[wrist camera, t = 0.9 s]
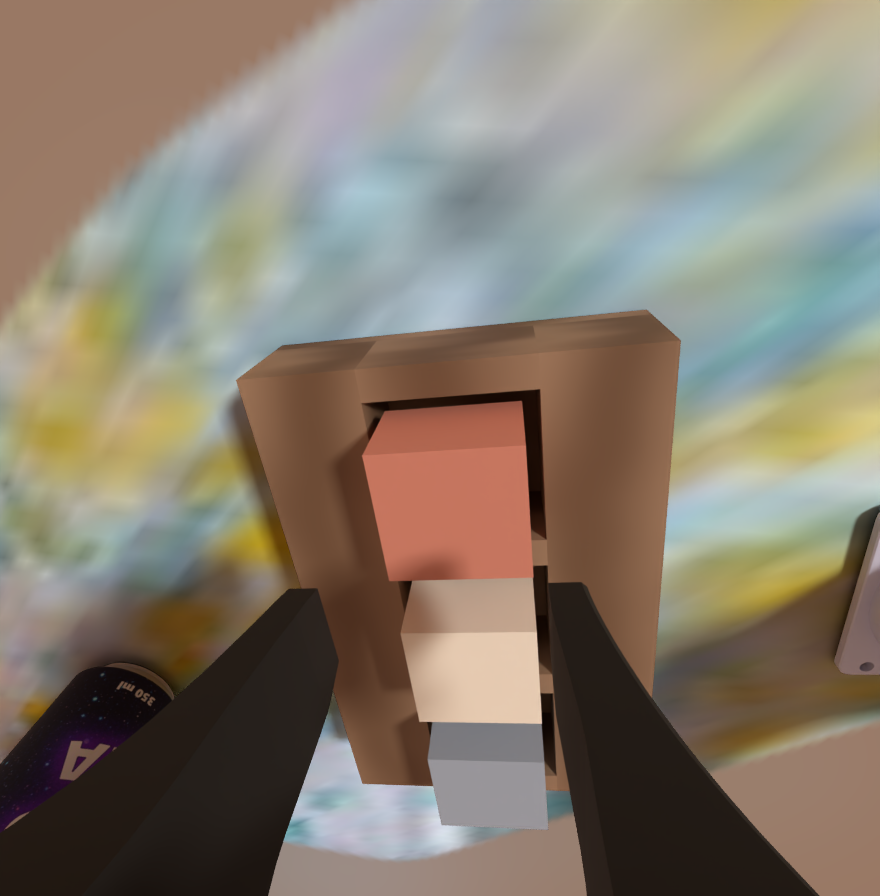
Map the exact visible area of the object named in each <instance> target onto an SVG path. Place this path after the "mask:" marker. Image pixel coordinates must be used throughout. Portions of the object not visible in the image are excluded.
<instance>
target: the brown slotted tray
mask: <svg viewBox="0 0 880 896" xmlns="http://www.w3.org/2000/svg"><path fill="white" fill-rule="evenodd" d="M680 344H681V340H680V339H679V338H678V337H676V336H675V335H674V334H673V333H672V332H671V331H670V330H669V329H668V328H666V327H665V326H664V325H663V324H662V323H661V322H660V321H659V320H658V319H656V318H655V317H654V316H653V315H652V314H651V313H650V312H649V311H648V310H639V311H629V312H619V313H608V314H598V315H588V316H578V317H568V318H558V319H548V320H537V321H527V322H517V323H507V324H497V325H487V326H476V327H466V328H456V329H446V330H436V331H426V332H415V333H405V334H395V335H385V336H375V337H365V338H355V339H344V340H334V341H324V342H314V343H304V344H294V345H283V346H281V347H280V348H278V349H277V350H276V351H274V352H273V353H272V354H270V355H269V356H268V357H266V358H265V359H264V360H262V361H261V362H260V363H258V364H257V365H256V366H254V367H253V368H252V369H250V370H249V371H248V372H246V373H245V374H244V375H242V376H241V377H240V378H238V379H237V380H236V381H237V384H238V388H239V391H240V394H241V397H242V400H243V404H244V407H245V410H246V413H247V416H248V420H249V423H250V426H251V429H252V432H253V436H254V439H255V442H256V445H257V448H258V451H259V455H260V458H261V461H262V464H263V467H264V471H265V474H266V477H267V480H268V483H269V487H270V490H271V493H272V496H273V499H274V503H275V506H276V509H277V512H278V515H279V519H280V522H281V525H282V528H283V531H284V534H285V538H286V541H287V544H288V547H289V550H290V554H291V557H292V560H293V563H294V566H295V570H296V573H297V576H298V579H299V582H300V586H301V589H307V588H318V592H319V595H320V598H321V602H322V605H323V609H324V612H325V615H326V619H327V622H328V625H329V629H330V632H331V636H332V639H333V642H334V646H335V649H336V652H337V656H338V659H339V664H338V668H337V673H336V678H335V683H334V688H333V691H334V694H335V697H336V700H337V704H338V707H339V710H340V713H341V716H342V720H343V723H344V726H345V729H346V732H347V736H348V739H349V742H350V745H351V748H352V752H353V755H354V758H355V761H356V764H357V768H358V771H359V774H360V777H361V780H362V783H363V784H386V785H415V786H433V782H432V778H431V773H430V768H429V764H428V753H429V745H430V737H431V729H432V722H419V717H418V713H417V708H416V703H415V699H414V694H413V689H412V685H411V680H410V675H409V671H408V666H407V661H406V657H405V652H404V648H403V643H402V638H401V634H400V633H401V629H402V624H403V620H404V616H405V611H406V607H407V602H408V598H409V593H410V589H411V585H412V581H389V578H388V573H387V569H386V564H385V559H384V555H383V550H382V545H381V541H380V536H379V531H378V527H377V522H376V517H375V513H374V508H373V504H372V499H371V494H370V490H369V485H368V480H367V476H366V471H365V466H364V462H363V457H362V455H363V453H364V451H365V449H366V447H367V445H368V443H369V441H370V439H371V437H372V435H373V433H374V431H375V430H376V428H377V426H378V424H379V422H380V420H381V418H382V416H383V414H384V412H385V411H395V410H408V409H421V408H434V407H448V406H461V405H474V404H487V403H500V402H514V401H522V407H523V418H524V430H525V441H526V456H527V474H528V491H529V508H530V525H531V542H532V560H533V577H534V578H533V589H534V603H535V616H536V629H537V646H538V663H539V680H540V697H541V714H542V737H543V751H544V766H545V783H546V790H556V791H570V789H569V784H568V779H567V773H566V768H565V762H564V757H563V751H562V746H561V740H560V735H559V729H558V724H557V718H556V710H555V699H554V688H553V676H552V665H551V646H550V623H549V600H548V583H561V582H582V583H583V584H584V585H586V586H587V587H588V590H589V593H590V595H591V597H592V599H593V601H594V604H595V606H596V608H597V610H598V612H599V614H600V615H601V617H602V619H603V621H604V623H605V625H606V626H607V628H608V630H609V632H610V633H611V635H612V637H613V639H614V640H615V642H616V644H617V645H618V647H619V649H620V650H621V652H622V654H623V655H624V657H625V658H626V660H627V661H628V663H629V664H630V666H631V668H632V669H633V671H634V672H635V674H636V675H637V677H638V678H639V680H640V681H641V683H642V684H643V686H644V687H645V689H646V690H647V692H648V693H649V695H650V696H651V698H652V691H653V679H654V666H655V654H656V641H657V629H658V617H659V604H660V592H661V579H662V567H663V555H664V542H665V530H666V517H667V505H668V493H669V480H670V468H671V455H672V443H673V431H674V418H675V406H676V393H677V381H678V369H679V356H680Z"/></svg>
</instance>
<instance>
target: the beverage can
mask: <svg viewBox="0 0 880 896" xmlns="http://www.w3.org/2000/svg"><path fill="white" fill-rule="evenodd" d="M173 699H174V694H173V692H172V690H171V688H170V687H169V685H168V684H167V683H166V682H165V681H164V680H163V679H162V678H161V677H159V676H158V675H157V674H155V673H154V672H152V671H150V670H148V669H146V668H144V667H141V666H138V665H134V664H130V663H113V664H110V665H107V666H102V667H95V668H90V669H87V670H84V671H82V672H81V673H79V674H78V675H77V676H76V677H75V678H74V679H73V680H72V681H71V683H70V684H69V685H68V686H67V687H66V688H65V690H64V691H63V692H62V693H61V694H60V695H59V696H58V698H57V699H56V700H55V701H54V702H53V703H52V705H51V706H50V707H49V708H48V709H47V710H46V712H45V713H44V714H43V715H42V716H41V717H40V719H39V720H38V721H37V722H36V723H35V724H34V726H33V727H32V728H31V729H30V730H29V731H28V732H27V734H26V735H25V736H24V737H23V738H22V739H21V741H20V742H19V743H18V744H17V745H16V746H15V748H14V749H13V750H12V751H11V752H10V753H9V755H8V756H7V757H6V758H5V759H4V760H3V762H2V763H1V764H0V832H2V831H3V830H5V829H6V828H8V827H9V826H11V825H12V824H14V823H15V822H17V821H18V820H19V819H21V818H22V817H24V816H25V815H26V814H28V813H29V812H31V811H32V810H33V809H35V808H36V807H38V806H39V805H40V804H42V803H43V802H45V801H46V800H47V799H49V798H50V797H52V796H53V795H54V794H56V793H57V792H59V791H60V790H61V789H63V788H64V787H66V786H67V785H68V784H70V783H71V782H73V781H74V780H75V779H77V778H78V777H80V776H81V775H82V774H84V773H85V772H86V771H88V770H89V769H90V768H91V767H93V766H94V765H95V764H97V763H98V762H99V761H100V760H102V759H103V758H104V757H106V756H107V755H108V754H109V753H111V752H112V751H113V750H114V749H116V748H117V747H118V746H119V745H121V744H122V743H123V742H125V741H126V740H127V739H128V738H129V737H131V736H132V735H133V734H134V733H135V732H137V731H138V730H139V729H140V728H142V727H143V726H144V725H145V724H146V723H147V722H149V721H150V720H151V719H152V718H153V717H154V716H156V715H157V714H158V713H159V712H160V711H161V710H162V709H163V708H165V707H166V706H167V705H168V704H169V703H170V702H171V701H172V700H173Z"/></svg>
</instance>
